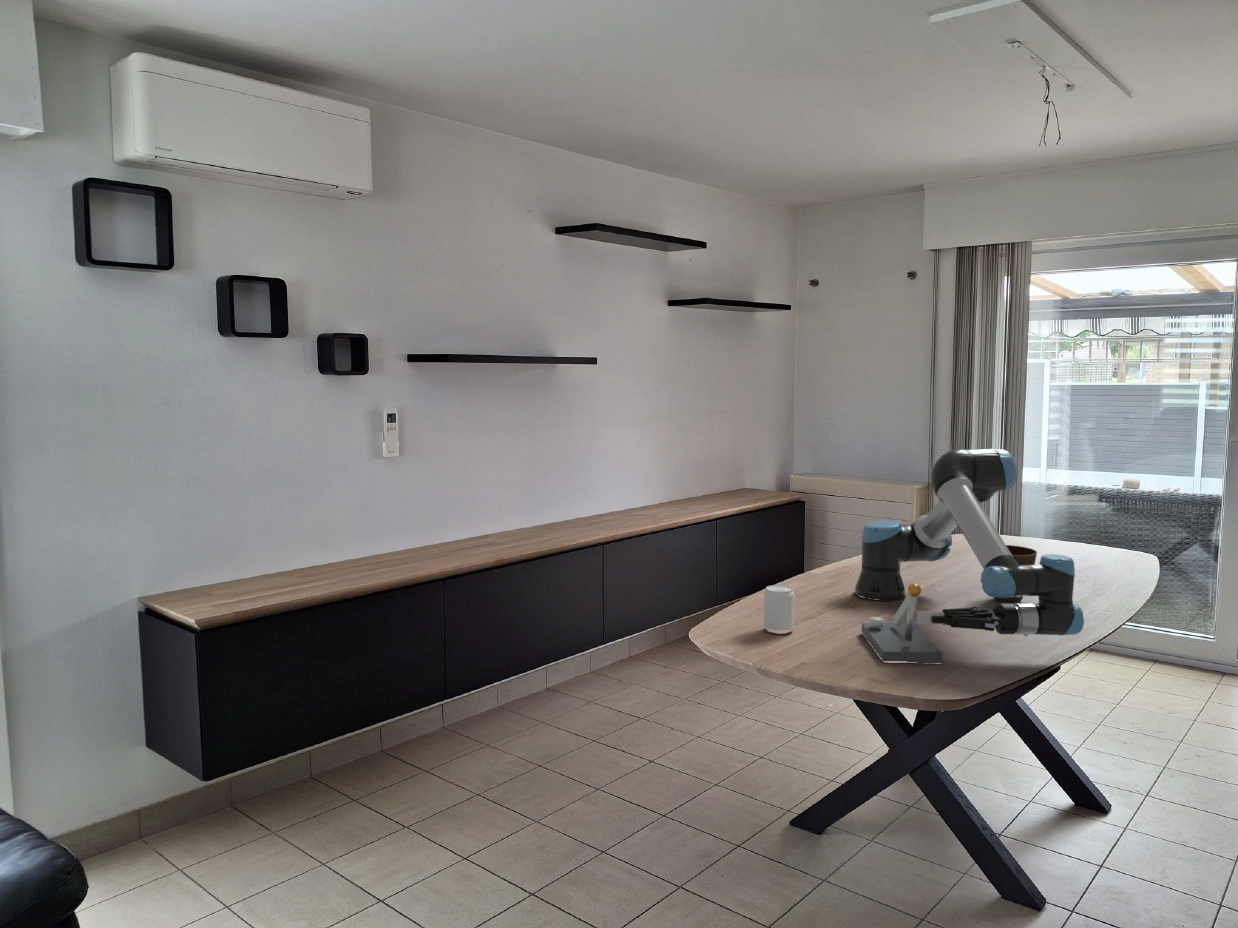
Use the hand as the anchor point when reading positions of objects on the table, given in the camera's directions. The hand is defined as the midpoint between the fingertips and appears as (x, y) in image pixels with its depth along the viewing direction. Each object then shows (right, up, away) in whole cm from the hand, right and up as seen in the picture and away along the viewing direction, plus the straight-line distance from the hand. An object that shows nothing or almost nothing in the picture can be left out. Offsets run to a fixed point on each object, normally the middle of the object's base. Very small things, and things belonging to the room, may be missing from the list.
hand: (916, 617), depth 215 cm
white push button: (-6, -6, +16) cm, 18 cm away
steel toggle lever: (-2, -7, +2) cm, 7 cm away
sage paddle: (-1, -5, +15) cm, 16 cm away
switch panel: (-1, -9, +9) cm, 13 cm away
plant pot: (+46, -5, +54) cm, 72 cm away
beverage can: (-30, -8, +23) cm, 39 cm away
